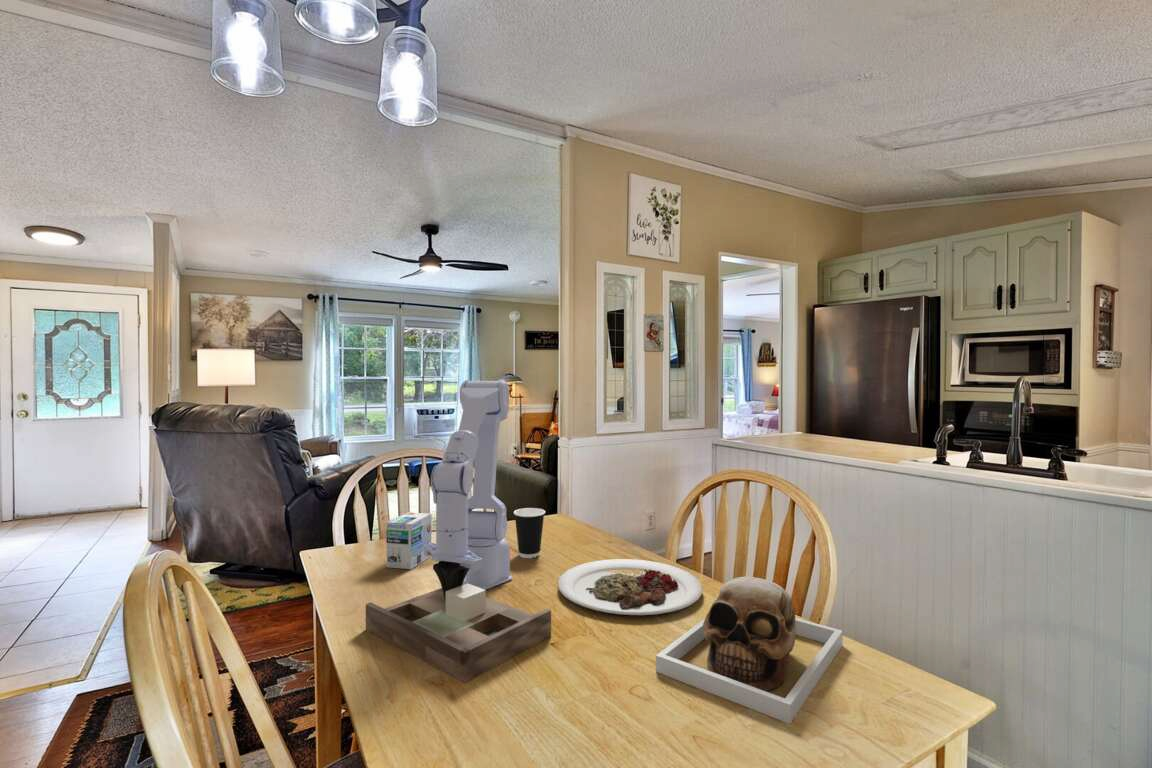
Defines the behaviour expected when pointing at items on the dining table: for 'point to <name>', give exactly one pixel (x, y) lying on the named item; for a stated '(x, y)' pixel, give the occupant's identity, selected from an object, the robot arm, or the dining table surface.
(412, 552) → the light bulb box
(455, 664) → the brown wooden tray
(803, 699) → the tray
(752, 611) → the brown skull figurine
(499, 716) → the dining table surface
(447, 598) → the cream block
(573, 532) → the dining table surface
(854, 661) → the dining table surface
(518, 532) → the dixie cup
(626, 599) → the plated food
